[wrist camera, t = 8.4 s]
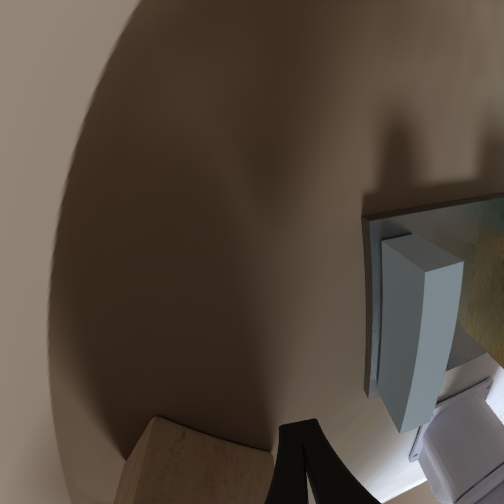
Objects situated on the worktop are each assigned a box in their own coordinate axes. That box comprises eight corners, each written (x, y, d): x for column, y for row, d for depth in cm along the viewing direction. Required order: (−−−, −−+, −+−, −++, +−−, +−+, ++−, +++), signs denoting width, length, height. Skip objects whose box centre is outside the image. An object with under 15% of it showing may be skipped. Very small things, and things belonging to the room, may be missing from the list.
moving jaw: (404, 380, 17) (429, 421, 13) (377, 389, 17) (399, 434, 13) (415, 233, 13) (463, 261, 10) (381, 241, 13) (425, 272, 10)
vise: (529, 318, 18) (562, 344, 13) (363, 389, 18) (388, 443, 13) (548, 186, 14) (592, 200, 9) (361, 216, 14) (411, 247, 10)
